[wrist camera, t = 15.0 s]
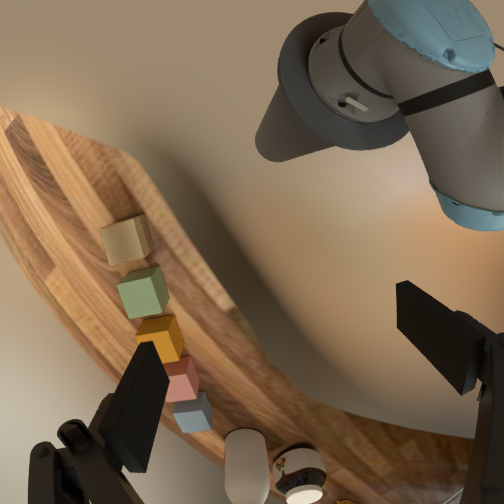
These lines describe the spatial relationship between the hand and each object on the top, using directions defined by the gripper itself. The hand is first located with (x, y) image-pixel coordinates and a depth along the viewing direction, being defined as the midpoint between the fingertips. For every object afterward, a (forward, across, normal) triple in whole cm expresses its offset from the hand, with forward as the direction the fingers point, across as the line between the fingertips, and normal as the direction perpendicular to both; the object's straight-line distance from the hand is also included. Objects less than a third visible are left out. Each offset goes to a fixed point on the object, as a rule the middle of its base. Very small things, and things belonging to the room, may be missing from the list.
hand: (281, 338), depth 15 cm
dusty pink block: (+27, -16, -18) cm, 36 cm away
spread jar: (+27, -1, -49) cm, 56 cm away
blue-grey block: (+27, -16, -26) cm, 41 cm away
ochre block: (+27, -16, -11) cm, 33 cm away
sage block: (+27, -16, -4) cm, 31 cm away
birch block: (+27, -16, +4) cm, 31 cm away
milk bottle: (+27, -10, -38) cm, 48 cm away
